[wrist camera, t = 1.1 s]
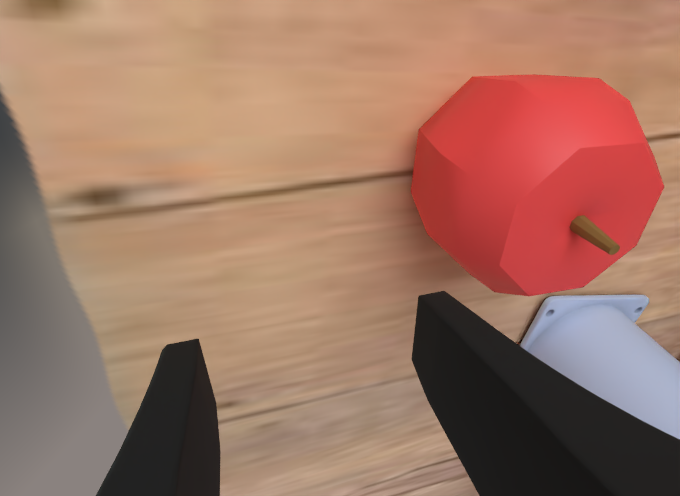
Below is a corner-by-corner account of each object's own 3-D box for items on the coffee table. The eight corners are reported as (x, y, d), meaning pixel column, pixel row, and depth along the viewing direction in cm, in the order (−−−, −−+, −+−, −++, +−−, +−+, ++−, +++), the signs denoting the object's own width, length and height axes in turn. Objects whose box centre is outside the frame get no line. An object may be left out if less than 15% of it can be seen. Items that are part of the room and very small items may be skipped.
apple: (448, 10, 16) (621, 56, 9) (593, 90, 19) (793, 165, 13) (355, 204, 19) (435, 334, 13) (492, 243, 23) (610, 362, 16)
